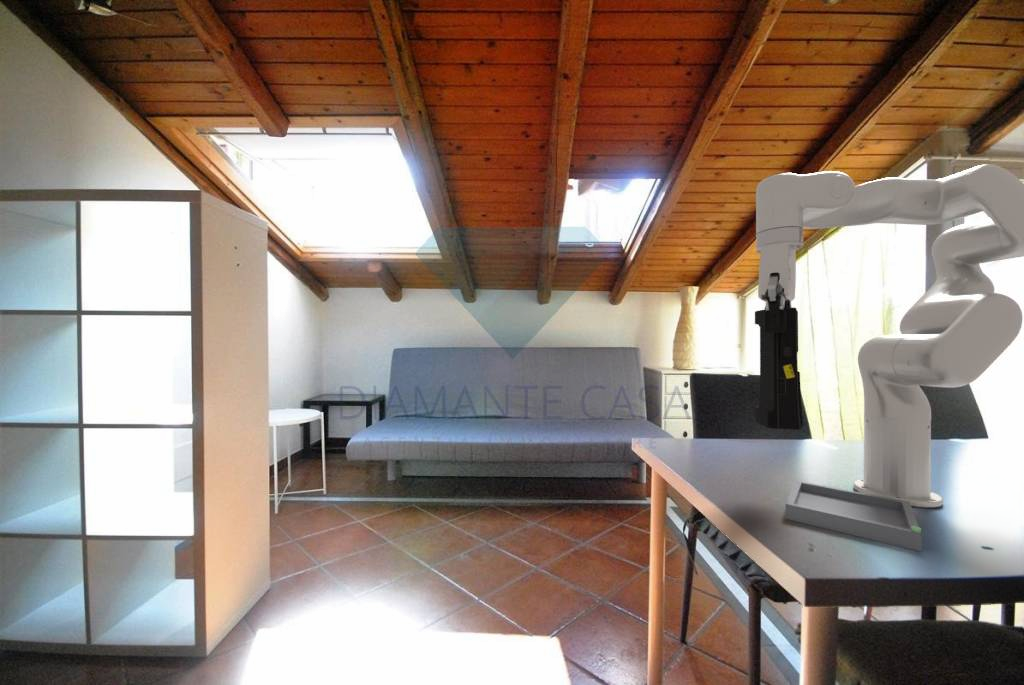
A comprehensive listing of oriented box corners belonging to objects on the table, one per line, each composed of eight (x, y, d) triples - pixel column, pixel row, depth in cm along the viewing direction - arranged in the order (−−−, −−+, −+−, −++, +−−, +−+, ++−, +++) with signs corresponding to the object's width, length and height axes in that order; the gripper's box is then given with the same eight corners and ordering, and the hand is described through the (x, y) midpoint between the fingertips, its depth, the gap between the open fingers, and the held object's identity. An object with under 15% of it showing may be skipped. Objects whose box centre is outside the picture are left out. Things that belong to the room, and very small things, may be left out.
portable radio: (807, 431, 72) (807, 293, 72) (770, 430, 74) (770, 294, 74) (788, 423, 80) (787, 298, 80) (754, 421, 81) (754, 298, 81)
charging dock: (795, 493, 79) (796, 477, 79) (909, 516, 69) (909, 498, 69) (785, 518, 67) (785, 500, 67) (921, 551, 57) (921, 529, 57)
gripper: (764, 252, 86) (765, 334, 86) (746, 236, 73) (746, 332, 73) (808, 247, 81) (808, 333, 81) (796, 228, 68) (797, 331, 68)
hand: (779, 332), depth 77 cm, fingers closed on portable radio, 8 cm apart
